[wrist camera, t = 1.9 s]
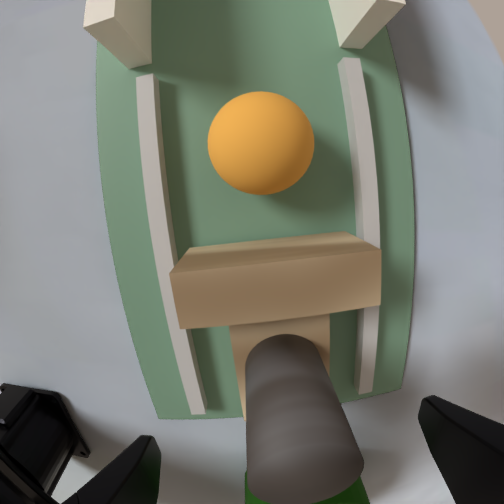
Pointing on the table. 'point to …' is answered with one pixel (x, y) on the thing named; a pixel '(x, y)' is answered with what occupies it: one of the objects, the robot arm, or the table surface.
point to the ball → (260, 143)
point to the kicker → (284, 350)
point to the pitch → (240, 203)
